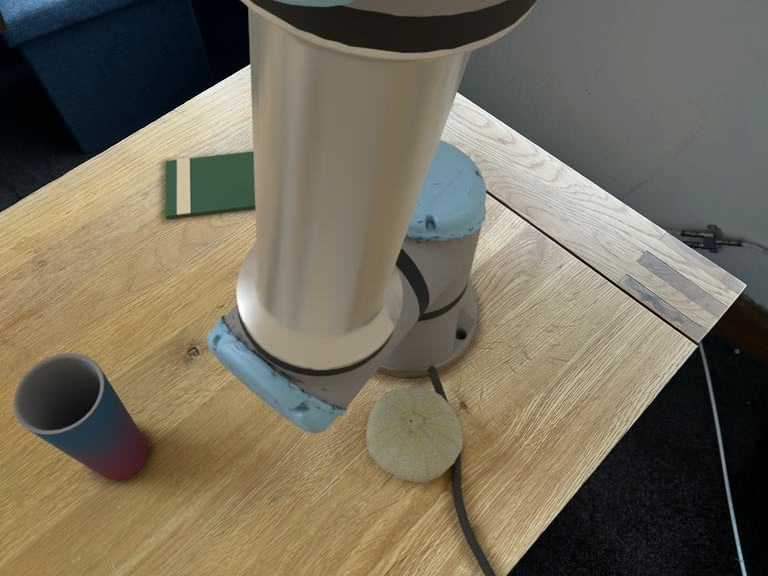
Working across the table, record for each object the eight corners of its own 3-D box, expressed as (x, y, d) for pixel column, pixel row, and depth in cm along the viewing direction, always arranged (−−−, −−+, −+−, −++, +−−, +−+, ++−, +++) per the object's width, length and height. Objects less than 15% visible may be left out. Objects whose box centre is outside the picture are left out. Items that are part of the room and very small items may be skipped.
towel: (299, 203, 81) (299, 199, 80) (166, 219, 79) (164, 215, 78) (293, 150, 85) (292, 146, 85) (167, 164, 84) (165, 160, 83)
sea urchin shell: (420, 509, 59) (378, 443, 57) (378, 481, 66) (339, 421, 64) (489, 442, 63) (452, 377, 60) (442, 422, 70) (407, 363, 67)
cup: (166, 424, 65) (115, 356, 53) (145, 493, 62) (87, 438, 49) (98, 417, 66) (33, 348, 53) (75, 486, 62) (-2, 429, 49)
